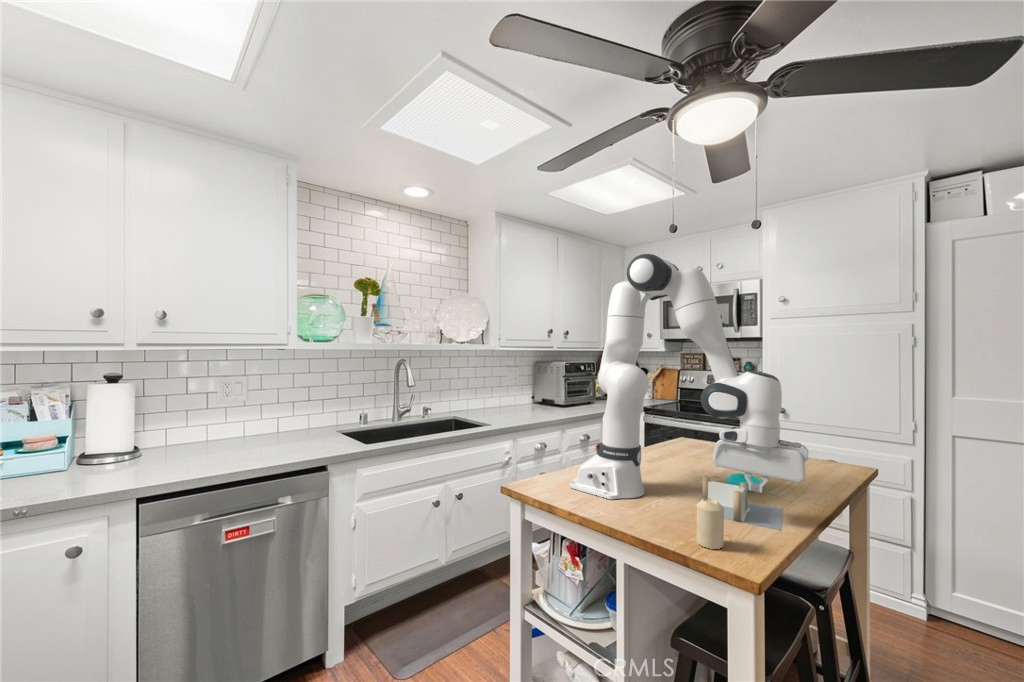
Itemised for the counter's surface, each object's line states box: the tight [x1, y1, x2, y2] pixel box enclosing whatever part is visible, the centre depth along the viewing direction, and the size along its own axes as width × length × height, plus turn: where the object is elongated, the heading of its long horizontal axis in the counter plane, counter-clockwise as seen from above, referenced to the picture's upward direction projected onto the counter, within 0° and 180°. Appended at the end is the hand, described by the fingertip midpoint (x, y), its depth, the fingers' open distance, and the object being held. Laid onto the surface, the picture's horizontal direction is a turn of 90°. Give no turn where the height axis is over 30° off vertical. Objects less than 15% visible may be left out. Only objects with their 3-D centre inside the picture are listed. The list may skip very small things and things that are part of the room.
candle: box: [696, 498, 725, 550], centre depth 99 cm, size 6×6×10 cm
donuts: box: [726, 473, 762, 492], centre depth 139 cm, size 10×10×10 cm
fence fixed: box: [701, 475, 748, 510], centre depth 122 cm, size 11×2×7 cm, turn 57°
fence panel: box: [733, 487, 745, 522], centre depth 114 cm, size 9×2×7 cm, turn 144°
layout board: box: [722, 501, 784, 532], centre depth 118 cm, size 19×17×1 cm
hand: (755, 491), depth 110 cm, fingers closed
